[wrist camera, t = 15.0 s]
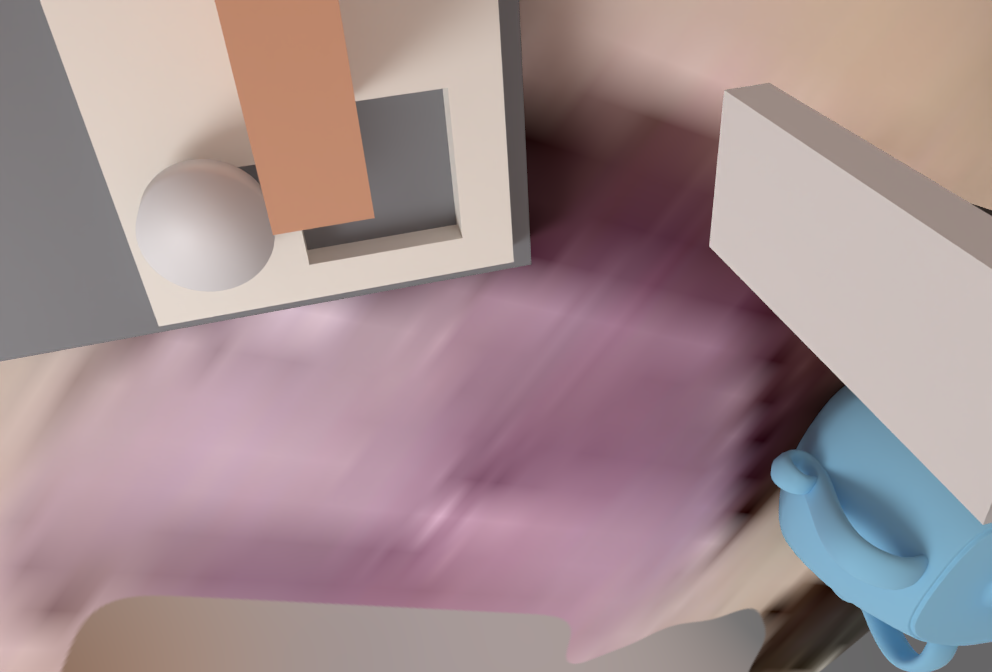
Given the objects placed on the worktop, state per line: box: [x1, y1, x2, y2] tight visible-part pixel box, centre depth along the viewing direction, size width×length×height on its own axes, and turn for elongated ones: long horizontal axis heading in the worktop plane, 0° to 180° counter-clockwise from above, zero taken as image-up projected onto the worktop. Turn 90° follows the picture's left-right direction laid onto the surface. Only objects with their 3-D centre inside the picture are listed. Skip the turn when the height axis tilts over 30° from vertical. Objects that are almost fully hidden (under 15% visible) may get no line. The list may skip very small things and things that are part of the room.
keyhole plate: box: [40, 0, 514, 326], centre depth 23 cm, size 14×23×10 cm, turn 3°
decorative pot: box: [771, 385, 992, 672], centre depth 46 cm, size 16×16×14 cm
